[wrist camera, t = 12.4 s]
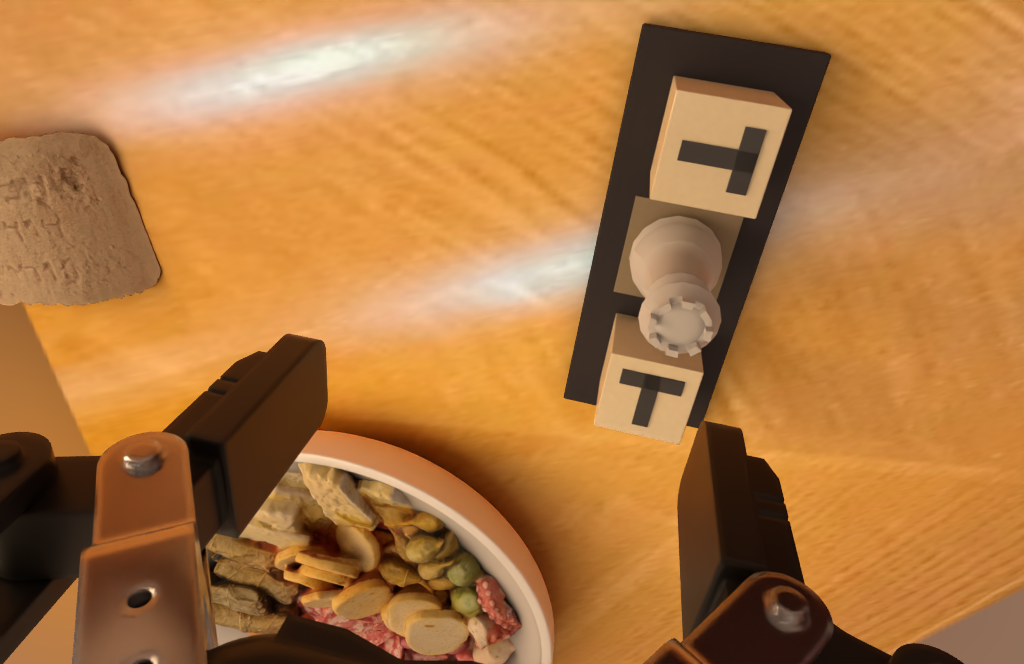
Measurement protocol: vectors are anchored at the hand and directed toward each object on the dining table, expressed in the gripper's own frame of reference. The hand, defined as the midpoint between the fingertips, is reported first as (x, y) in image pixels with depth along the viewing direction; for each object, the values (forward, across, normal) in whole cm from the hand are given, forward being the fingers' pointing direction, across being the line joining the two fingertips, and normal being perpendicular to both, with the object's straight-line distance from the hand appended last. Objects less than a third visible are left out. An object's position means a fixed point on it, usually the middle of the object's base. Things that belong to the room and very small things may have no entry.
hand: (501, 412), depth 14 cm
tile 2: (+20, -5, -2) cm, 21 cm away
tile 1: (+20, -5, +10) cm, 23 cm away
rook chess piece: (+20, -5, +4) cm, 21 cm away
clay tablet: (+22, +33, +9) cm, 40 cm away
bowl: (+21, +11, +34) cm, 41 cm away
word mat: (+21, -5, +4) cm, 22 cm away
